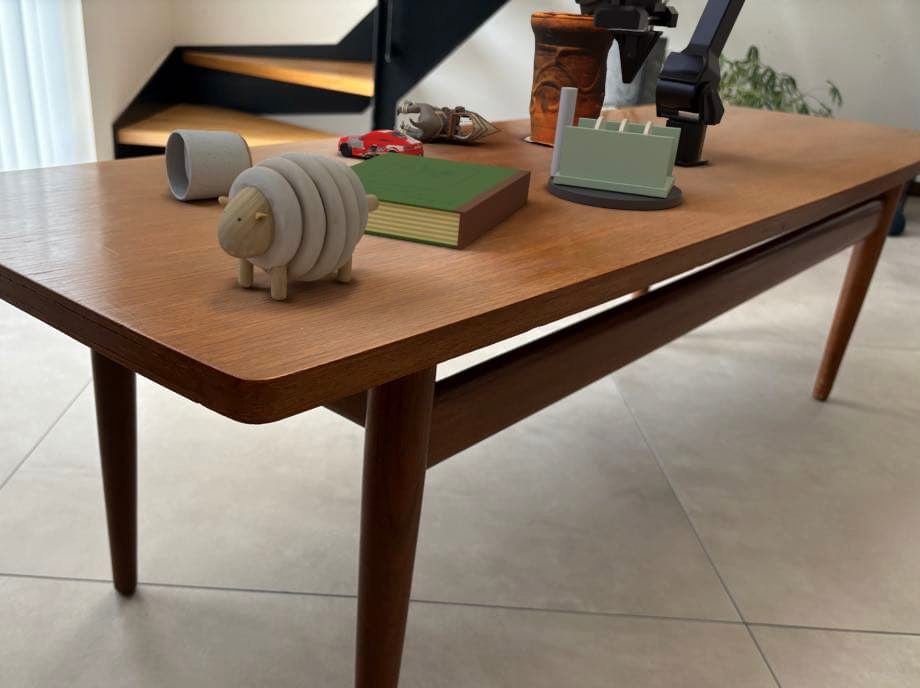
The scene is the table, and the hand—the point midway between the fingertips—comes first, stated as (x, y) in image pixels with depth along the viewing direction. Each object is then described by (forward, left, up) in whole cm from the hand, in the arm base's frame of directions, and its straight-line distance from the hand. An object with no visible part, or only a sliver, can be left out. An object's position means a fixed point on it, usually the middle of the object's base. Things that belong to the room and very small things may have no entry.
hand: (626, 83), depth 124 cm
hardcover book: (+42, +7, -12) cm, 44 cm away
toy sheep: (+68, +23, -12) cm, 73 cm away
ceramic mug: (+61, -10, -12) cm, 63 cm away
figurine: (+8, -28, -12) cm, 32 cm away
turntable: (+13, +11, -12) cm, 21 cm away
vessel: (-10, -20, -12) cm, 25 cm away
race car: (+28, -20, -12) cm, 36 cm away
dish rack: (+13, +10, -11) cm, 20 cm away
